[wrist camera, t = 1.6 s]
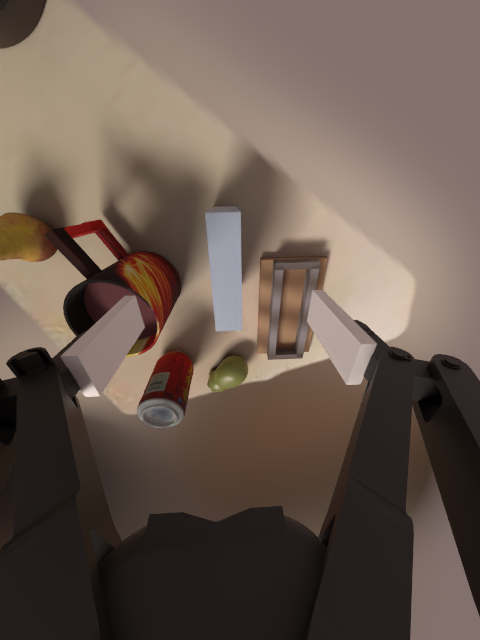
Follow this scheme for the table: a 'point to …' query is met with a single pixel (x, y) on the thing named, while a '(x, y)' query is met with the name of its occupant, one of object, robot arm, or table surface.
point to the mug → (117, 283)
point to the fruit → (24, 238)
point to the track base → (287, 304)
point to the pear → (228, 374)
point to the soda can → (167, 391)
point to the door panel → (225, 265)
